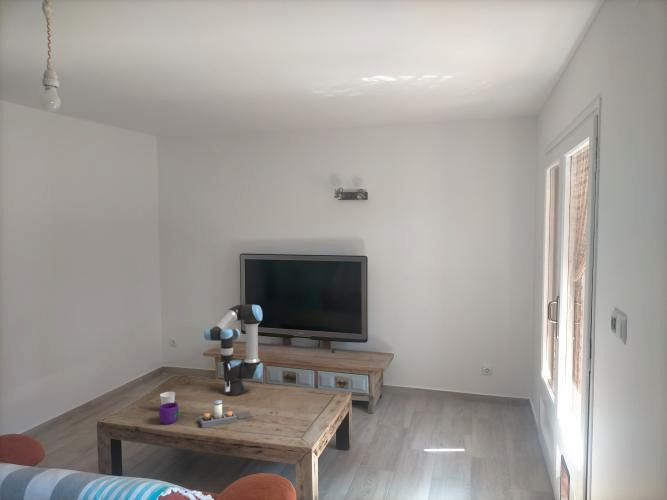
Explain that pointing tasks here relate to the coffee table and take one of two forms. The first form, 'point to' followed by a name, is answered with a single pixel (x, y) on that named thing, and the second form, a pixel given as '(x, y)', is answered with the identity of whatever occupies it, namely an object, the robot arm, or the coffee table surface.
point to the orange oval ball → (229, 414)
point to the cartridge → (217, 409)
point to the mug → (168, 413)
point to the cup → (167, 397)
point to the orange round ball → (206, 416)
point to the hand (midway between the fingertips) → (227, 391)
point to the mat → (243, 415)
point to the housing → (217, 420)
